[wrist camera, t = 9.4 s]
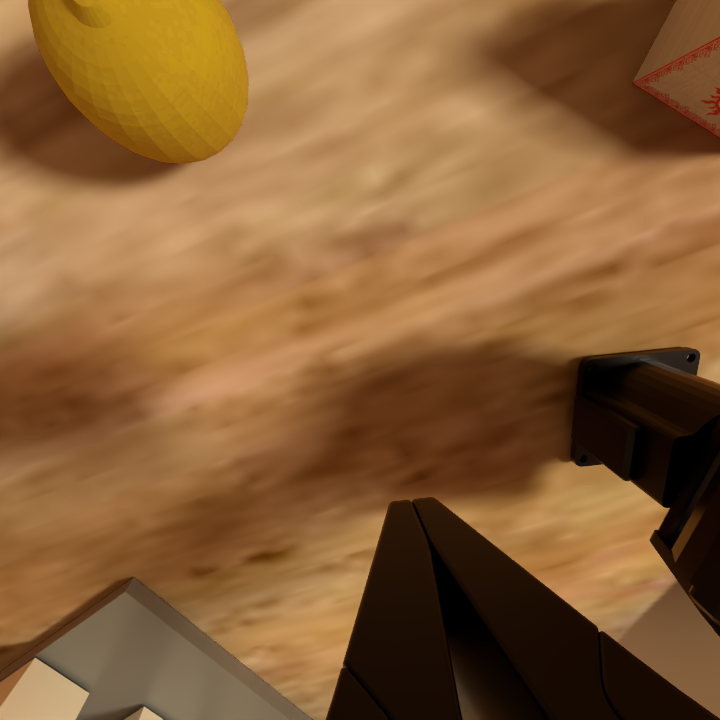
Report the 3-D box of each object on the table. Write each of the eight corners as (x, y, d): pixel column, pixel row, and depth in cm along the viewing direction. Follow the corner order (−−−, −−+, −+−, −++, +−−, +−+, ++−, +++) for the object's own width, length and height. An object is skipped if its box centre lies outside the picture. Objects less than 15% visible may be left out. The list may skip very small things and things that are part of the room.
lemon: (287, 144, 17) (254, 62, 9) (176, 201, 17) (54, 167, 10) (220, 1, 15) (113, -242, 8) (99, 66, 16) (-122, -104, 8)
